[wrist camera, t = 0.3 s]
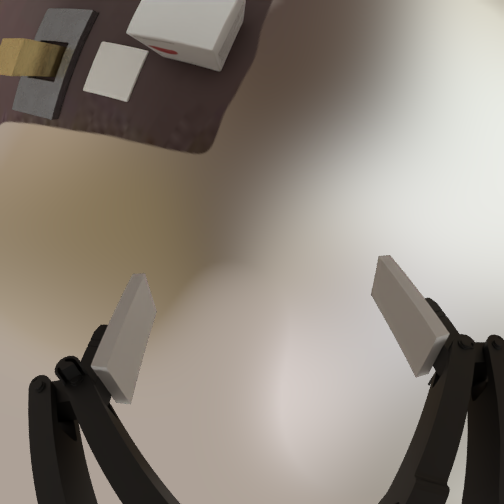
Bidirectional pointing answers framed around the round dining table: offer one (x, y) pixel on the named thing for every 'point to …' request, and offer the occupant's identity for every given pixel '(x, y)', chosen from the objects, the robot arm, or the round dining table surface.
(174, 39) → the supplement box
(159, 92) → the round dining table surface
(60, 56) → the gold metal column
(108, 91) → the mat
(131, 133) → the round dining table surface
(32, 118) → the round dining table surface
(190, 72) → the round dining table surface
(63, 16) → the grey metal slotted plate
